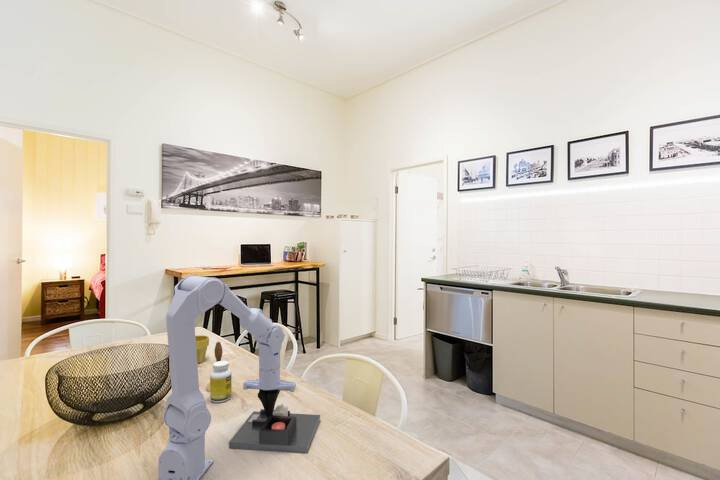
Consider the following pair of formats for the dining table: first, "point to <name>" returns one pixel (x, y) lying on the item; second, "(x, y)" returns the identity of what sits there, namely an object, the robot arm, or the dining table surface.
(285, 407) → the sliding toggle
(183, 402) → the robot arm
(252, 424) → the panel
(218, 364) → the pill bottle
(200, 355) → the plant pot
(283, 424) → the button
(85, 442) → the dining table surface
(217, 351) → the hand bell
